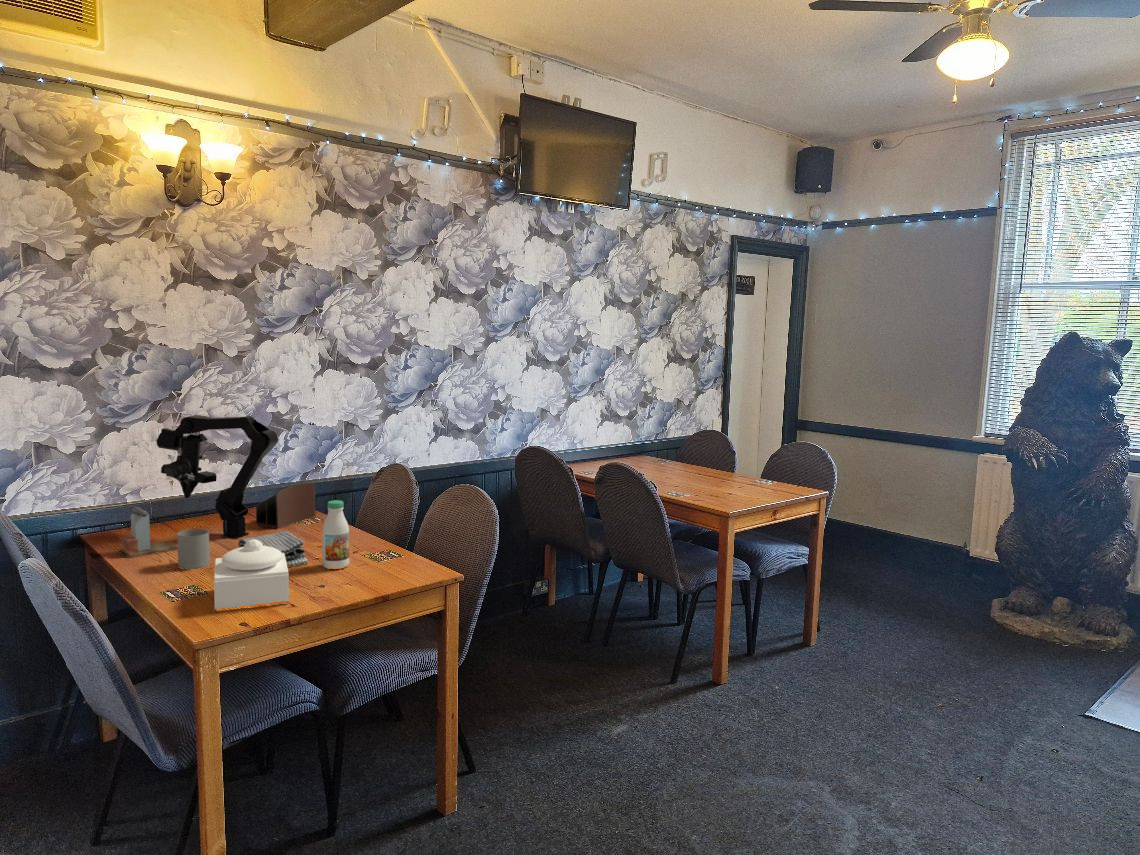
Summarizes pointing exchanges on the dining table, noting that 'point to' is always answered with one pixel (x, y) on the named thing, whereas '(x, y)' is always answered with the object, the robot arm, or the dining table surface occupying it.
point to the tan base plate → (131, 549)
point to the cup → (193, 548)
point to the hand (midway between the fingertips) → (186, 497)
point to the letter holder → (287, 506)
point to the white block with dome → (251, 576)
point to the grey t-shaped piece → (141, 528)
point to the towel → (282, 546)
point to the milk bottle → (335, 537)
